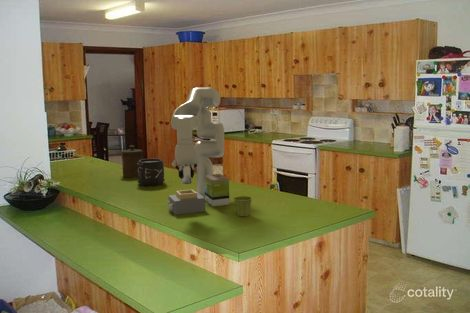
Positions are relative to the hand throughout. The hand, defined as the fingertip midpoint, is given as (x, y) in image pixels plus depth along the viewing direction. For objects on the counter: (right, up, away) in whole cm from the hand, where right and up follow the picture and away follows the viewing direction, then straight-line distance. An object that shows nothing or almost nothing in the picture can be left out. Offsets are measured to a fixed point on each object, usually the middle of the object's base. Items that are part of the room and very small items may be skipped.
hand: (186, 177), depth 252 cm
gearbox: (-1, -17, +10) cm, 20 cm away
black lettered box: (-31, -8, +77) cm, 83 cm away
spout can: (0, -3, 0) cm, 3 cm away
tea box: (+14, -15, +24) cm, 32 cm away
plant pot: (+28, -19, -3) cm, 34 cm away
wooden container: (-49, -3, +109) cm, 119 cm away
